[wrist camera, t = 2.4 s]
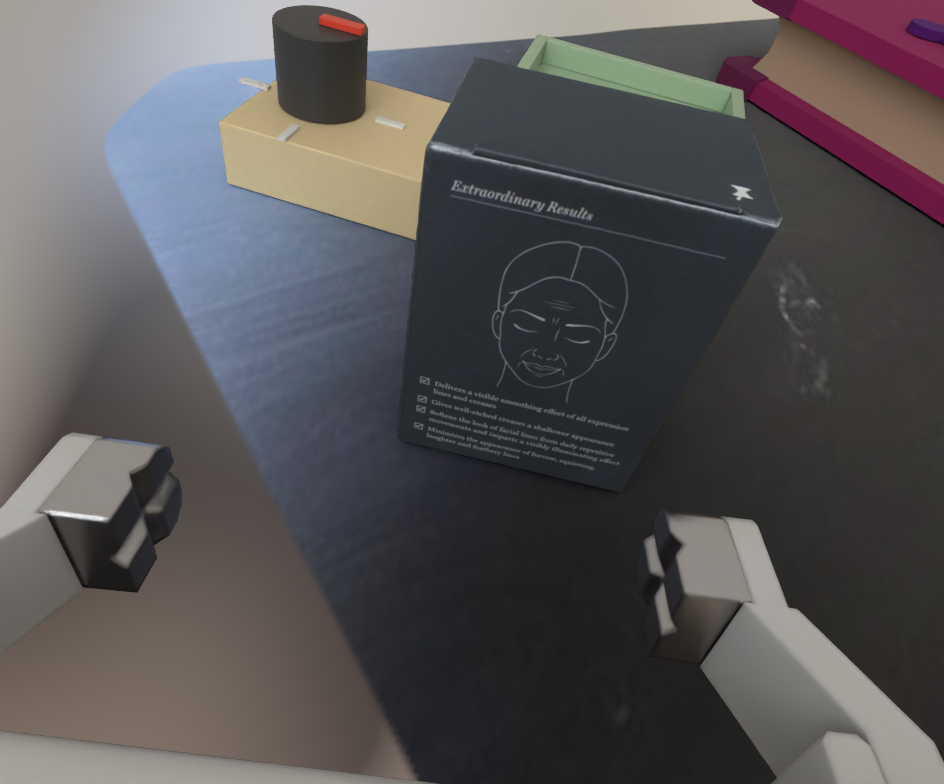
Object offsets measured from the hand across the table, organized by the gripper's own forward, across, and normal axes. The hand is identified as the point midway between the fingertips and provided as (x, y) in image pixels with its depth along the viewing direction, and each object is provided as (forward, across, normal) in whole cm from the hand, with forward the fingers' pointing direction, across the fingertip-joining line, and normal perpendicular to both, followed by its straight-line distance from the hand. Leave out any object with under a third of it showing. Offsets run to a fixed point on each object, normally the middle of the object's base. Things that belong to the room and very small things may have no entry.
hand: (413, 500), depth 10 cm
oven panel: (+24, +6, +4) cm, 25 cm away
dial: (+24, +8, +1) cm, 25 cm away
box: (+10, -3, +7) cm, 13 cm away
